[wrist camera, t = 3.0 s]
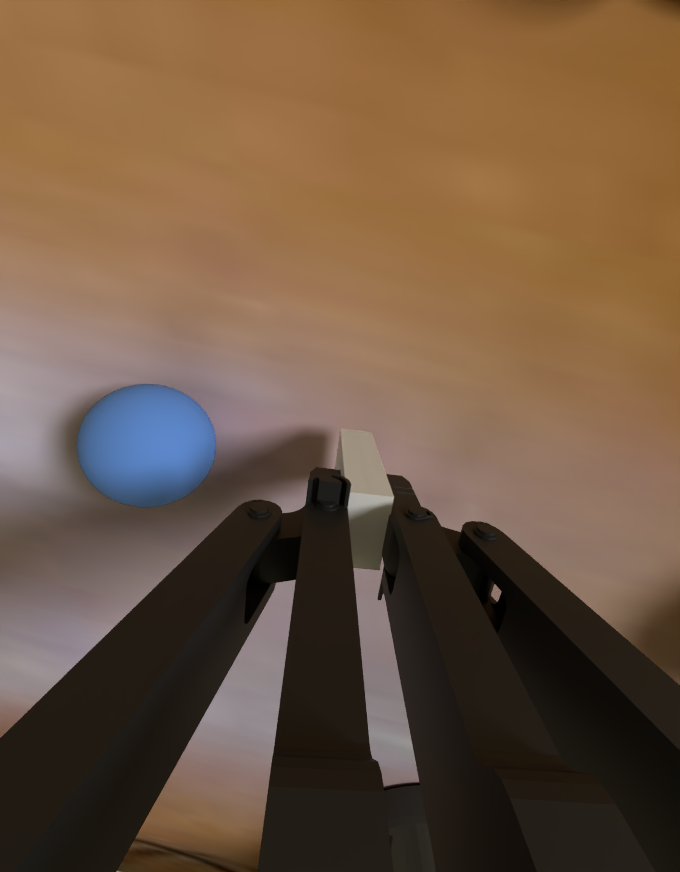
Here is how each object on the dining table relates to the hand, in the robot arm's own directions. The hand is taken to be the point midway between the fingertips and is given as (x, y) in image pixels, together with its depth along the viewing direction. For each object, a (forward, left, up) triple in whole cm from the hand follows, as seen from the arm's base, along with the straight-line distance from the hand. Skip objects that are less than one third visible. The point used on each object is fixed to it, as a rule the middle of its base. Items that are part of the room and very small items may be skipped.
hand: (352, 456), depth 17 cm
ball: (0, +9, +1) cm, 9 cm away
